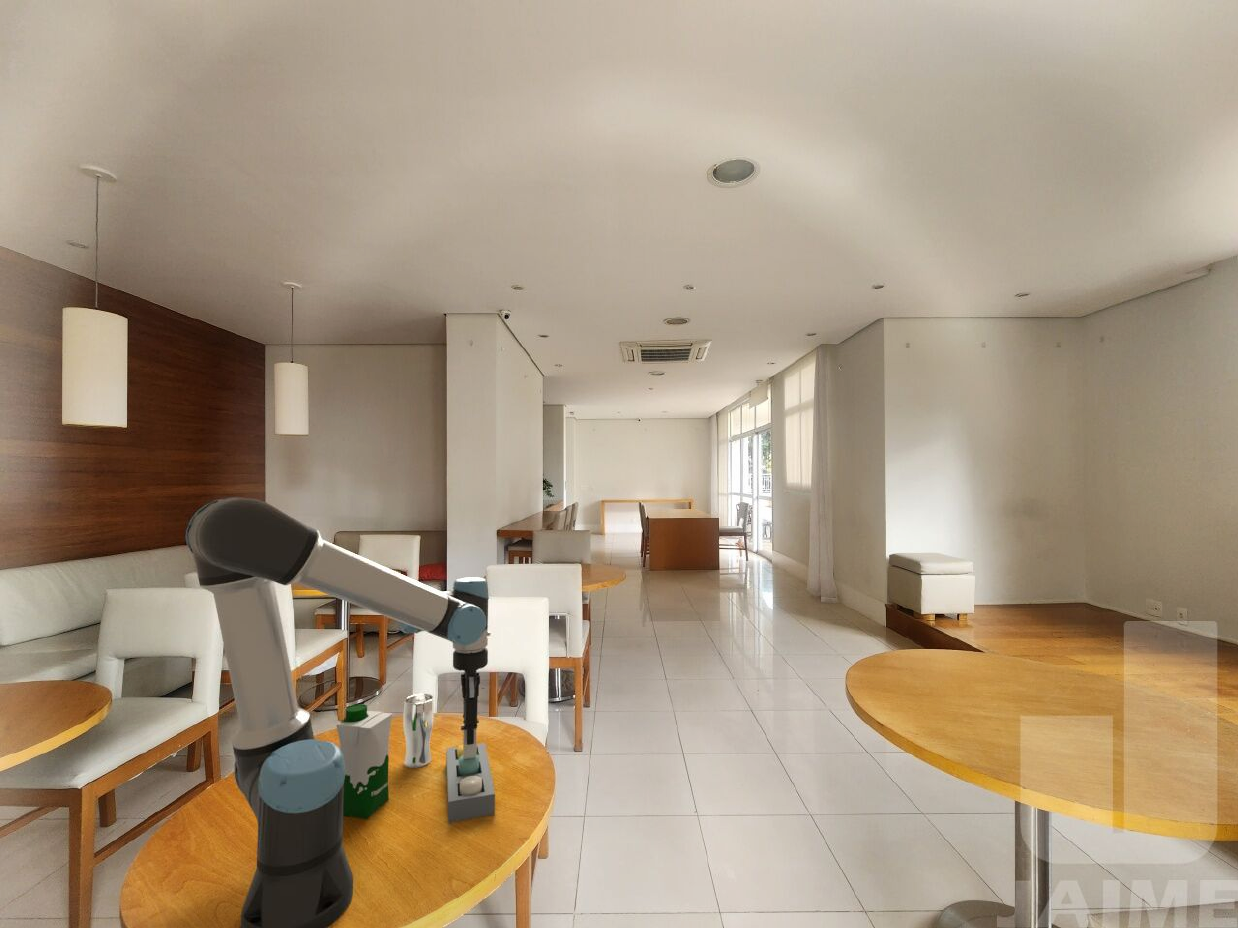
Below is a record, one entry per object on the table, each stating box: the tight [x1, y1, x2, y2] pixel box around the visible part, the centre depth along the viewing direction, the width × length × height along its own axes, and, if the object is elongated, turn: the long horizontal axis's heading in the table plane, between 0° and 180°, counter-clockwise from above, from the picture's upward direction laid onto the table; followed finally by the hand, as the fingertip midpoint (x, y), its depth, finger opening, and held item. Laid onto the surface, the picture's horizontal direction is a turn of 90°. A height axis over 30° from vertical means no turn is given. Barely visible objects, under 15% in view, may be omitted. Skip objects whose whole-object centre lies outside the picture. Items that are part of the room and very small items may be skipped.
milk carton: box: [336, 703, 393, 820], centre depth 113 cm, size 9×9×20 cm
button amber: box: [457, 743, 477, 759], centre depth 128 cm, size 4×4×3 cm
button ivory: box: [460, 776, 482, 796], centre depth 113 cm, size 4×4×3 cm
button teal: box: [458, 754, 479, 776], centre depth 121 cm, size 4×4×3 cm
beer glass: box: [402, 693, 435, 769], centre depth 132 cm, size 7×7×15 cm
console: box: [445, 742, 496, 824], centre depth 120 cm, size 24×9×4 cm, turn 18°
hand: (469, 756), depth 121 cm, fingers closed
